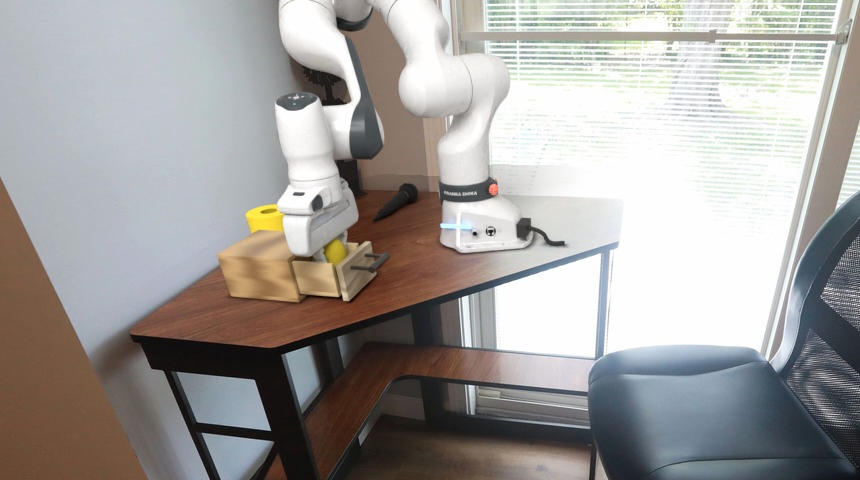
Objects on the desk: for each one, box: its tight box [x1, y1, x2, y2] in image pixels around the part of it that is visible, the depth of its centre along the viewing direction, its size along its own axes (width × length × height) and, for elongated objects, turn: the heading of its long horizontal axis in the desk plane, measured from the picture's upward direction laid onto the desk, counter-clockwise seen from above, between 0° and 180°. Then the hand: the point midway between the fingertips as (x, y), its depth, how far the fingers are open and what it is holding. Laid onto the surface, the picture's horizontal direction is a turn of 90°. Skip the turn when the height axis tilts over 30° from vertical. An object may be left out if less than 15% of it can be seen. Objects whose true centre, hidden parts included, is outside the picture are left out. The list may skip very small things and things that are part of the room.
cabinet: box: [216, 230, 309, 303], centre depth 116 cm, size 16×14×9 cm
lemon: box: [323, 238, 347, 274], centre depth 112 cm, size 6×6×8 cm
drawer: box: [290, 240, 391, 302], centre depth 113 cm, size 20×12×7 cm, turn 76°
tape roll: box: [245, 203, 285, 234], centre depth 133 cm, size 10×10×9 cm
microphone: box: [372, 182, 419, 222], centre depth 155 cm, size 6×6×20 cm
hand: (333, 259), depth 113 cm, fingers closed on lemon, 5 cm apart
